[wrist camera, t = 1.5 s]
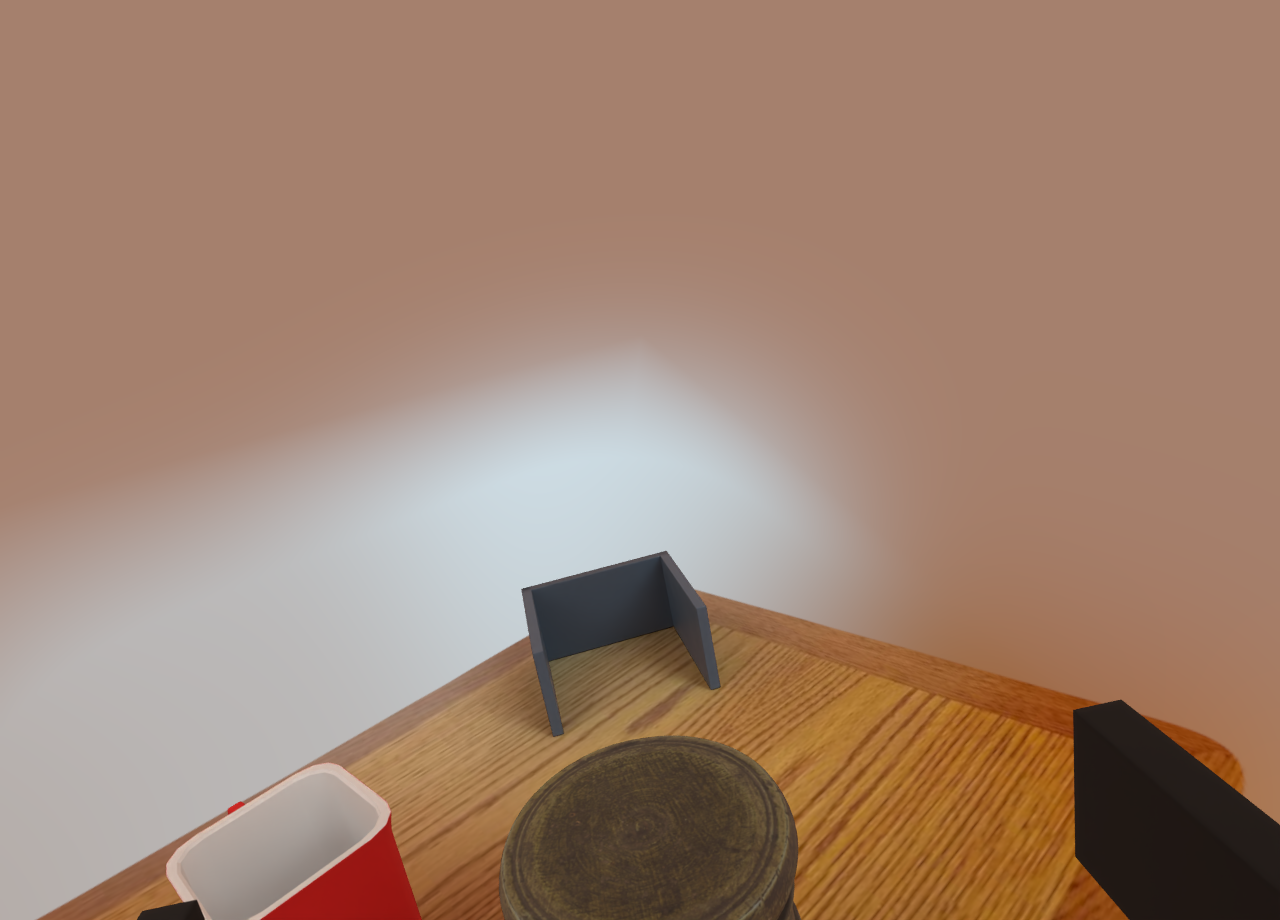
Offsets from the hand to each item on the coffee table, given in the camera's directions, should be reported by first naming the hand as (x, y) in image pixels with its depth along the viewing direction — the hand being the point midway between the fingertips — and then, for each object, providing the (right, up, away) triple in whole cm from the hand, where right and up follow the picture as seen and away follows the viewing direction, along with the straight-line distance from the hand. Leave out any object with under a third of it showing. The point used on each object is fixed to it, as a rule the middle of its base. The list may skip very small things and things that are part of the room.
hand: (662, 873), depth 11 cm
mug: (-16, -21, +28) cm, 38 cm away
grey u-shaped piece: (-2, -11, +51) cm, 52 cm away
